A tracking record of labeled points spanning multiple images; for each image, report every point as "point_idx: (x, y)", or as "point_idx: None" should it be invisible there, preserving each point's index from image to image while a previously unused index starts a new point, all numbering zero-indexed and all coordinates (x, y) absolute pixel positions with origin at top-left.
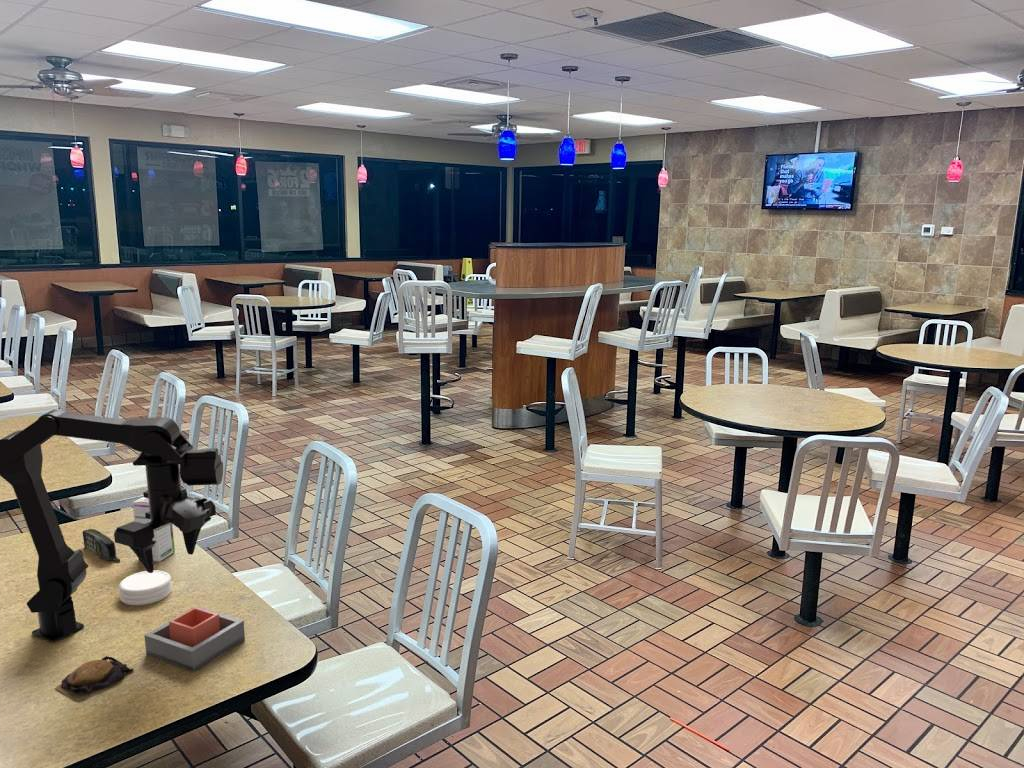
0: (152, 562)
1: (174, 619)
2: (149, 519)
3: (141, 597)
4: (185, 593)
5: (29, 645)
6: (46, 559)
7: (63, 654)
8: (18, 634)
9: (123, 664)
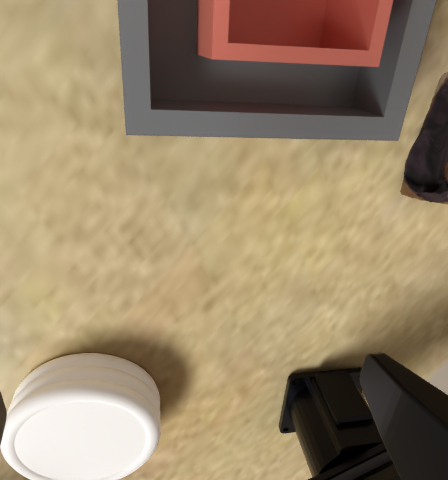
0: (440, 413)
1: (354, 56)
2: None
3: (138, 384)
4: (9, 332)
5: None
6: None
7: (398, 312)
8: None
9: (426, 135)
